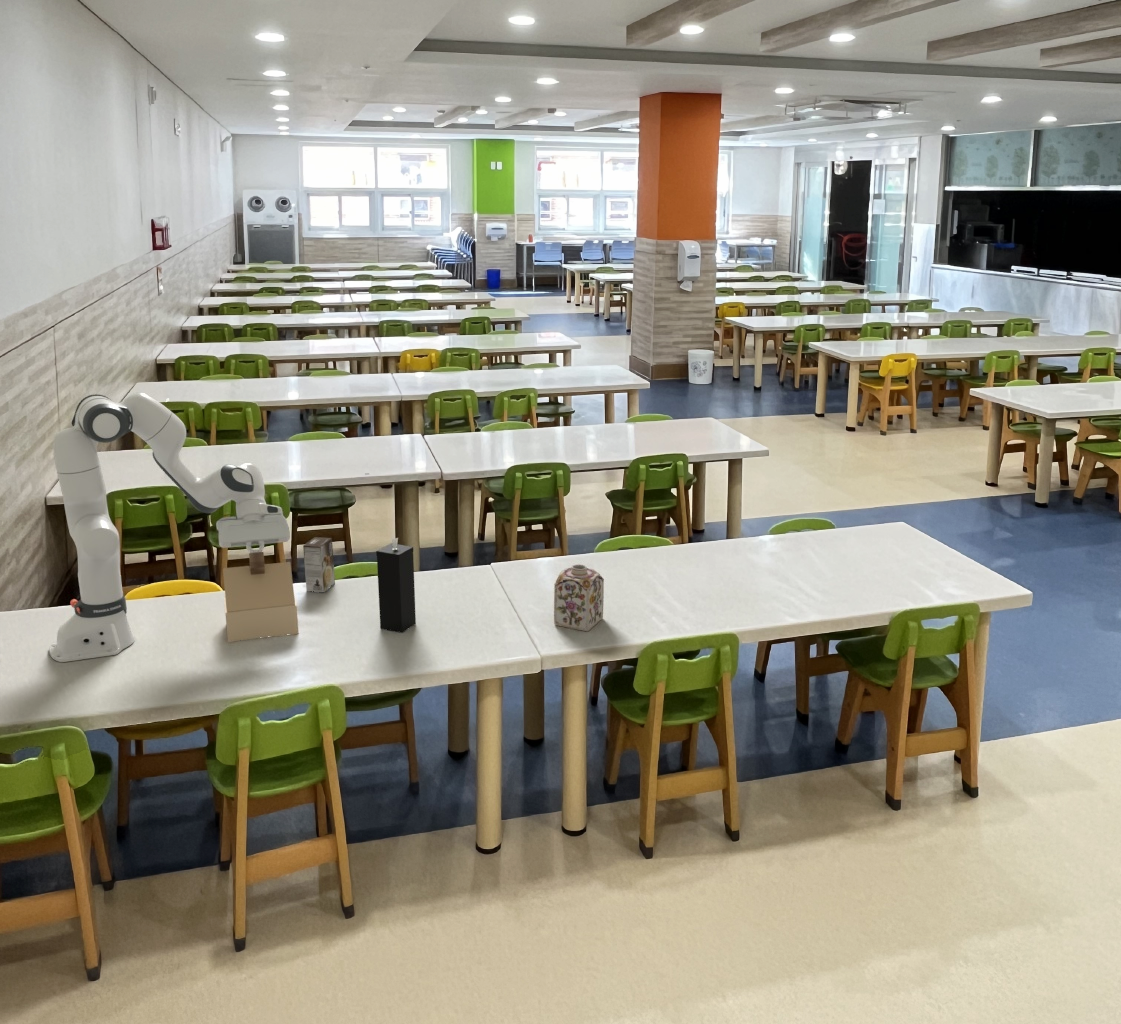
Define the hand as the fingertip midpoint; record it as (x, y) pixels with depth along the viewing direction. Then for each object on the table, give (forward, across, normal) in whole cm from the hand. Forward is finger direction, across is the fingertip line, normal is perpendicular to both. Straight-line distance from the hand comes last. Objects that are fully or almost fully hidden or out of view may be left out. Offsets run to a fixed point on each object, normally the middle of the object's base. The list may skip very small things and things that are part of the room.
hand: (256, 556), depth 314 cm
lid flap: (+7, 0, +6) cm, 9 cm away
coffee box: (-5, +20, +38) cm, 43 cm away
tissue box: (+23, +39, +10) cm, 46 cm away
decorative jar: (+32, +92, +1) cm, 97 cm away
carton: (+15, 0, +17) cm, 23 cm away
